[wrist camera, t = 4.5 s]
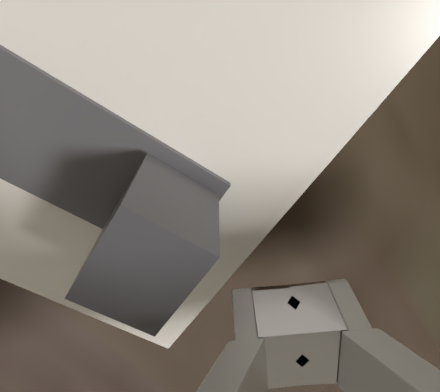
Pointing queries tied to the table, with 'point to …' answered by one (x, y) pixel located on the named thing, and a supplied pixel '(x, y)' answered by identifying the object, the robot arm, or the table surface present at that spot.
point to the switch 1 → (151, 249)
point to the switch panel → (181, 116)
